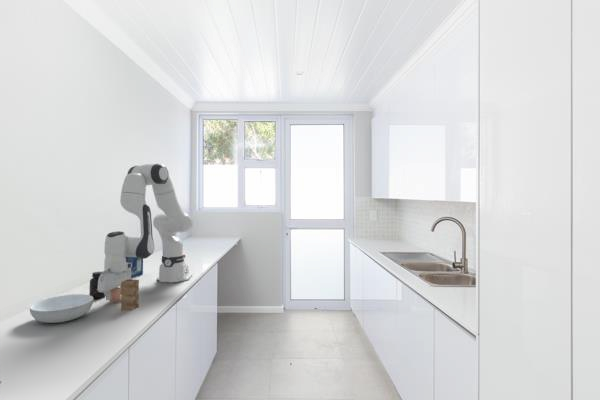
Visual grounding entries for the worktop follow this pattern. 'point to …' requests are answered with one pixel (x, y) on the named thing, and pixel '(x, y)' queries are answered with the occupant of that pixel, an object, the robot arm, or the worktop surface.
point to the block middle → (129, 295)
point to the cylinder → (115, 295)
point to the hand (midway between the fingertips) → (115, 296)
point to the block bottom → (130, 304)
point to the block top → (129, 285)
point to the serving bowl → (61, 308)
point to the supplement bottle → (95, 286)
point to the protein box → (135, 266)
